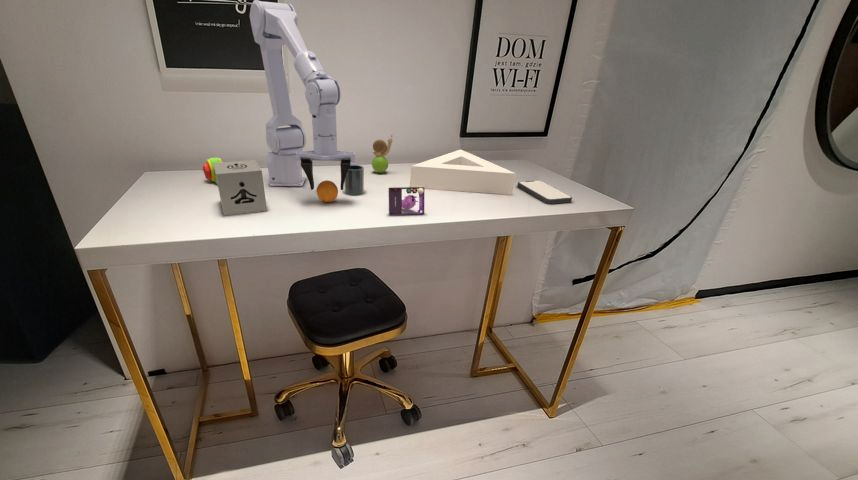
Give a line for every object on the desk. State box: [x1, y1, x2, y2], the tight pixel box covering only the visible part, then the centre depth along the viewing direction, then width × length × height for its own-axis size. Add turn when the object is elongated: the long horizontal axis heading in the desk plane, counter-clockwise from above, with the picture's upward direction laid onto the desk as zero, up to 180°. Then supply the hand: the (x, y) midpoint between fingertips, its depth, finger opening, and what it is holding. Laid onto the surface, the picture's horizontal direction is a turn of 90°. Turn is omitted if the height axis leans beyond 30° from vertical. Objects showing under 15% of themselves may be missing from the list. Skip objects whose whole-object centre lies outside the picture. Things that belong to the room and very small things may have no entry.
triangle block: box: [409, 149, 517, 196], centre depth 120 cm, size 30×26×6 cm
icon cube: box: [213, 159, 268, 217], centre depth 96 cm, size 10×10×10 cm
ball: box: [316, 180, 339, 203], centre depth 103 cm, size 6×6×6 cm
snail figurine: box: [371, 134, 393, 174], centre depth 126 cm, size 5×6×12 cm
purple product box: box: [388, 186, 425, 216], centre depth 99 cm, size 7×5×9 cm
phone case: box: [516, 179, 573, 205], centre depth 116 cm, size 9×2×16 cm
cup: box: [344, 164, 365, 196], centre depth 110 cm, size 5×5×7 cm
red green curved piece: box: [202, 157, 223, 186], centre depth 116 cm, size 6×19×7 cm, turn 33°
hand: (327, 188), depth 102 cm, fingers open, 7 cm apart
